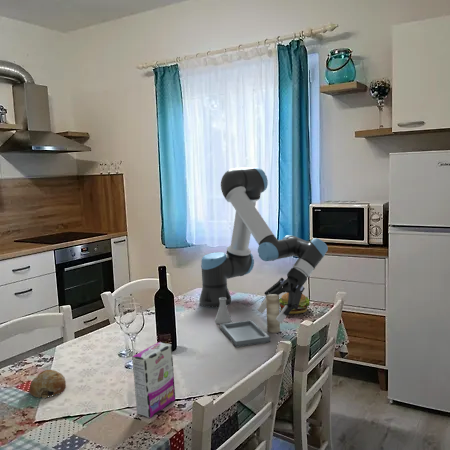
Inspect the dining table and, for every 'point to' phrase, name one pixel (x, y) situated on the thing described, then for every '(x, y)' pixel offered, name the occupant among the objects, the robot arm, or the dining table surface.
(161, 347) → the candy bar box
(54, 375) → the bread roll
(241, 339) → the tray
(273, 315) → the birch peg
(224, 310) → the flask
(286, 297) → the food
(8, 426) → the dining table surface
